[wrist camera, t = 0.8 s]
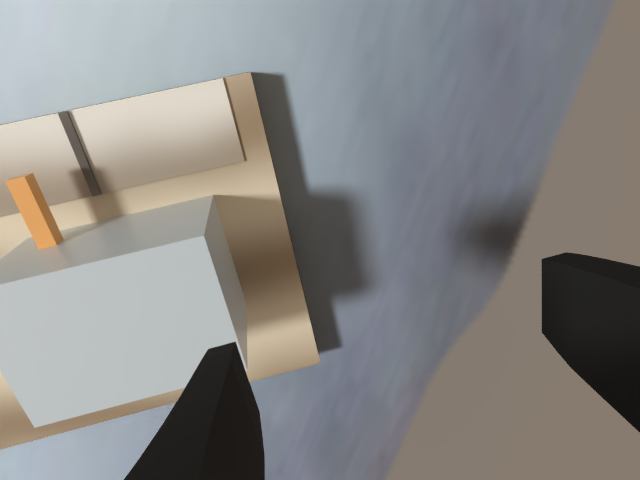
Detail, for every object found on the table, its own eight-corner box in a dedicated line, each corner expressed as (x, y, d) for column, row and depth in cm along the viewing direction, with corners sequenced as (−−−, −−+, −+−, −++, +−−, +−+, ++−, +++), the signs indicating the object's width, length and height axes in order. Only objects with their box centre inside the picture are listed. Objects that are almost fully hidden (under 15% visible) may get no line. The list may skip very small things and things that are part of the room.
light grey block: (246, 304, 19) (247, 370, 15) (-18, 371, 18) (-95, 462, 14) (194, 132, 16) (177, 155, 12) (-123, 202, 15) (-262, 253, 11)
